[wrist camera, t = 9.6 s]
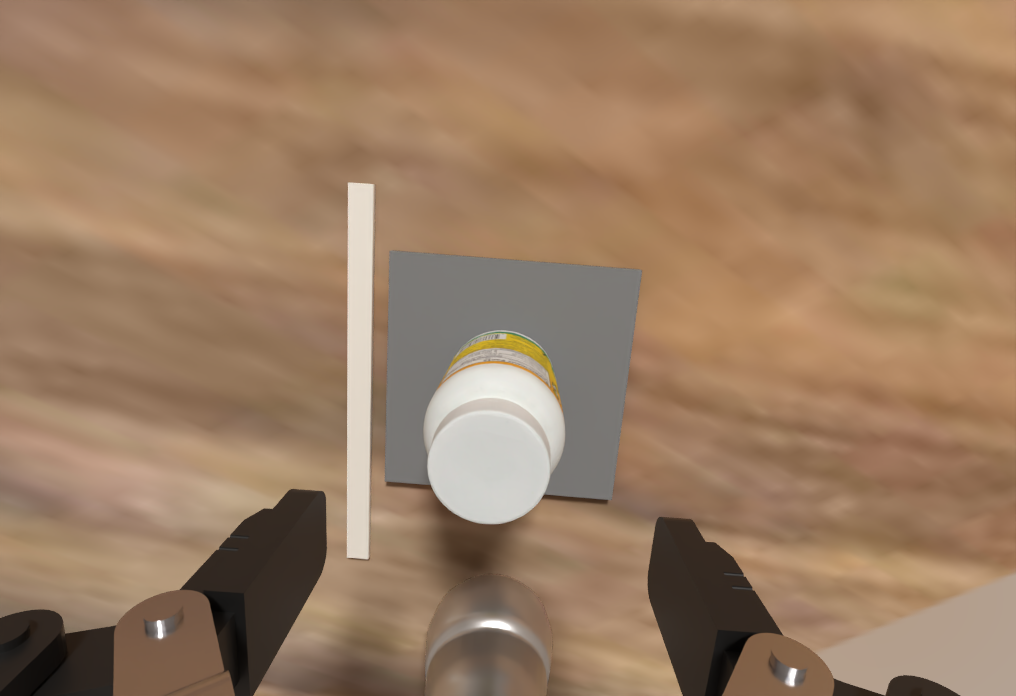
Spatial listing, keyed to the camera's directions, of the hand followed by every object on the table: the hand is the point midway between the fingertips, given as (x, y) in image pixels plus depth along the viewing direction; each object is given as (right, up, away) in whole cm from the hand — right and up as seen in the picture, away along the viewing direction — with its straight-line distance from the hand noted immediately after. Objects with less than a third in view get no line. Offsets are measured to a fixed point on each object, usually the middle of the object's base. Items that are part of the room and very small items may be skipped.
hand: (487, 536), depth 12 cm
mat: (0, +3, +14) cm, 14 cm away
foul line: (-7, +3, +14) cm, 16 cm away
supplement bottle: (0, +3, +14) cm, 14 cm away
